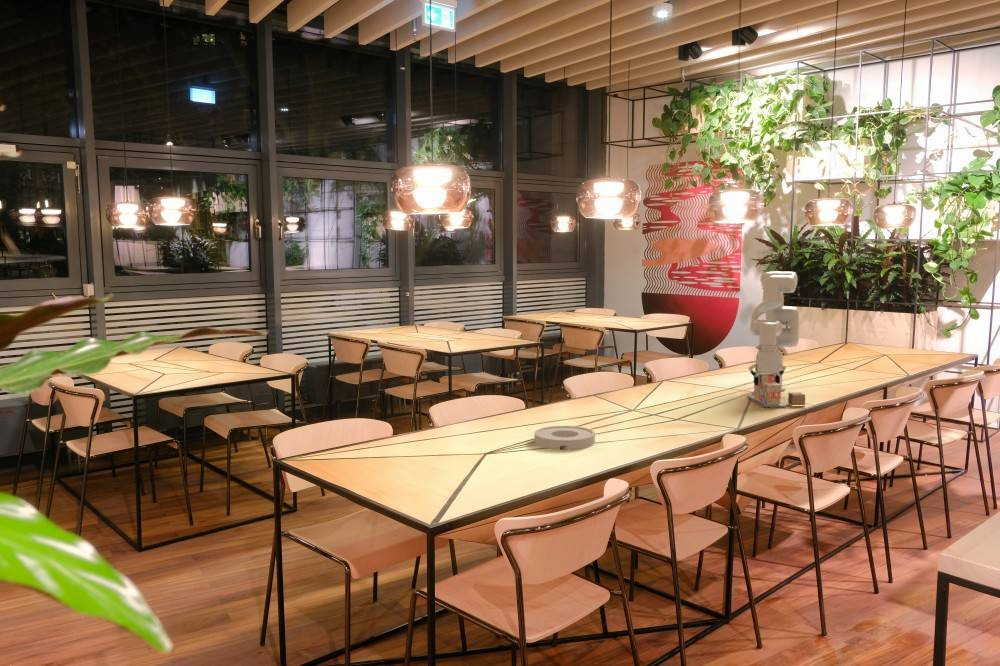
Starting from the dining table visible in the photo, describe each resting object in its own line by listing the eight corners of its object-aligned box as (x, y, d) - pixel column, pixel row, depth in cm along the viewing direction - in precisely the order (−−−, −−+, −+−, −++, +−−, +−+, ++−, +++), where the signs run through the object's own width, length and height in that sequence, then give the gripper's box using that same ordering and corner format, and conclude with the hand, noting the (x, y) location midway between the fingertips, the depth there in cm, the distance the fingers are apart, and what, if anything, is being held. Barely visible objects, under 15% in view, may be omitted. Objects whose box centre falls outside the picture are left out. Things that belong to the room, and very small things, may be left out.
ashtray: (566, 432, 312) (566, 422, 312) (607, 443, 294) (607, 433, 293) (522, 442, 298) (522, 431, 298) (562, 454, 280) (562, 443, 279)
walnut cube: (788, 404, 359) (788, 392, 359) (800, 404, 359) (800, 392, 359) (792, 406, 354) (793, 394, 353) (804, 406, 354) (805, 394, 353)
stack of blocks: (780, 405, 352) (781, 378, 351) (766, 405, 352) (767, 378, 351) (766, 396, 373) (767, 370, 372) (753, 396, 374) (754, 370, 372)
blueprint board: (747, 397, 376) (747, 395, 376) (767, 397, 376) (767, 395, 376) (764, 408, 351) (764, 405, 351) (786, 407, 351) (786, 405, 351)
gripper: (751, 349, 357) (750, 386, 359) (789, 349, 357) (788, 386, 359) (746, 347, 364) (745, 383, 366) (783, 347, 364) (782, 383, 366)
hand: (766, 384), depth 362 cm, fingers open, 9 cm apart
